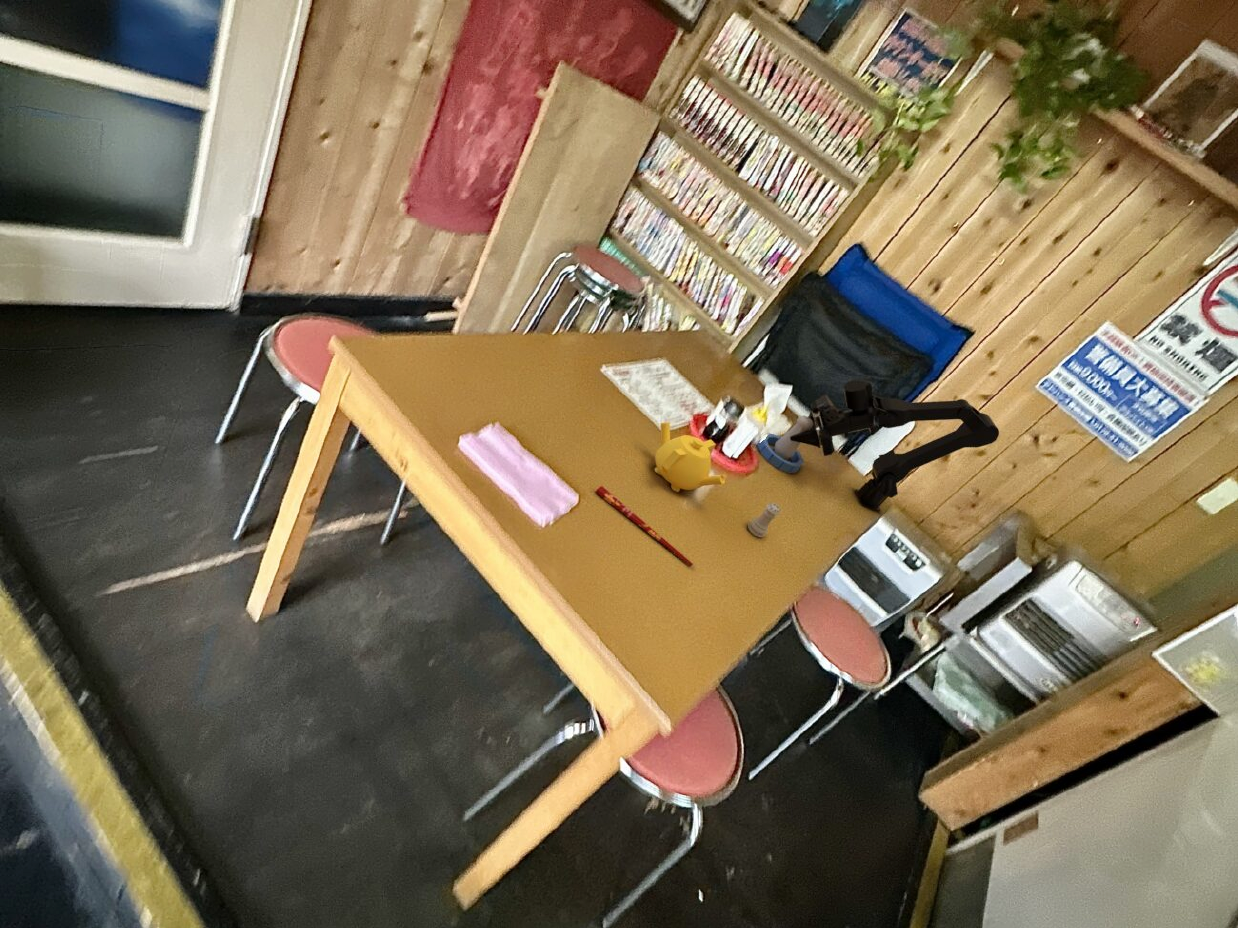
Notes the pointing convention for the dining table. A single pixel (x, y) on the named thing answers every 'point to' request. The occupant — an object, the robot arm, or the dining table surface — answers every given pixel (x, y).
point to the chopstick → (637, 520)
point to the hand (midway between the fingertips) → (789, 435)
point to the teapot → (685, 461)
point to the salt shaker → (785, 445)
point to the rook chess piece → (763, 520)
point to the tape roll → (776, 459)
